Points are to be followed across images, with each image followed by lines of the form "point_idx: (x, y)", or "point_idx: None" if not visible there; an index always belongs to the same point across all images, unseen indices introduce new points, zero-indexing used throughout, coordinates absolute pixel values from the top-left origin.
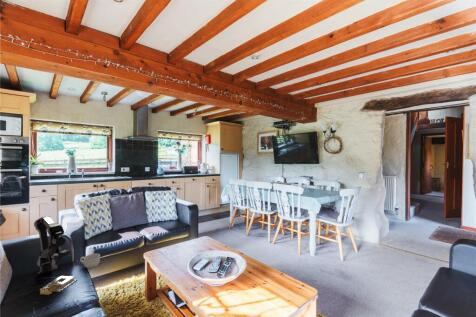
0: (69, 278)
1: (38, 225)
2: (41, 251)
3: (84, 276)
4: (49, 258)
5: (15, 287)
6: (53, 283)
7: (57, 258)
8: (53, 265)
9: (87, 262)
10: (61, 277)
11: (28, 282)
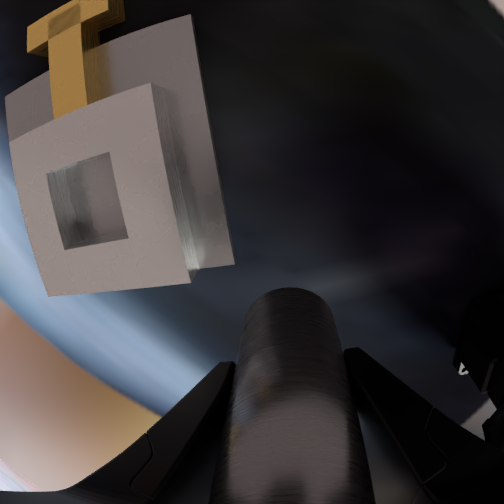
0: (47, 254)
1: None
2: None
3: (65, 346)
4: (461, 480)
5: (497, 35)
6: (92, 112)
7: (40, 492)
8: (266, 336)
9: None
10: (140, 249)
11: (489, 127)
